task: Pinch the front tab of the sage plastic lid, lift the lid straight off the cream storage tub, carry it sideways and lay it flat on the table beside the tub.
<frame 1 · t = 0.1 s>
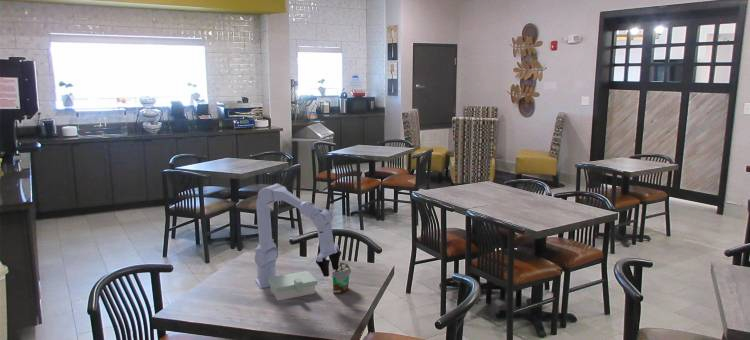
hand: (331, 272, 216), 10 cm above the table, tool pointing down, fingers open, 7 cm apart
food container: (343, 290, 225), on the table
tub: (292, 292, 222), on the table
lid: (292, 283, 221), point 4 cm above the table, touching tub
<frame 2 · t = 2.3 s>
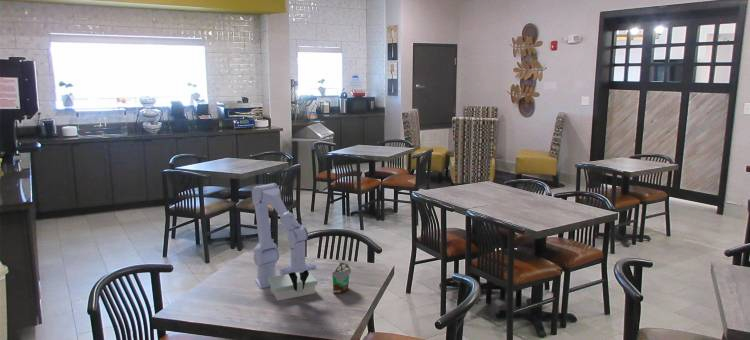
hand: (298, 289, 214), 5 cm above the table, tool pointing down, fingers closed on lid, 2 cm apart
lid: (292, 283, 221), point 4 cm above the table, touching gripper, tub
everything else where it was.
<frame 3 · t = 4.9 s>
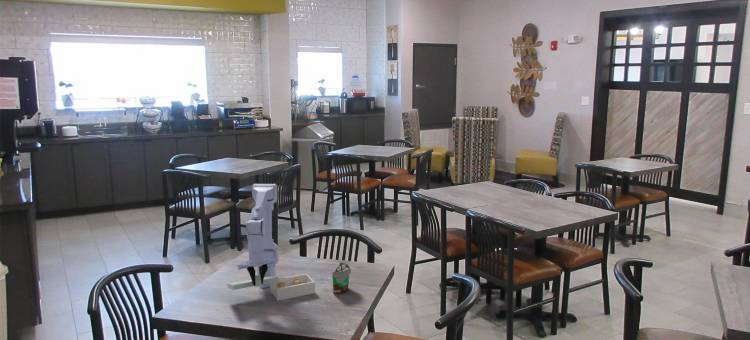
hand: (257, 283, 206), 10 cm above the table, tool pointing down, fingers closed on lid, 2 cm apart
lid: (253, 284, 213), point 7 cm above the table, tilted 18°, touching gripper
everything else where it was.
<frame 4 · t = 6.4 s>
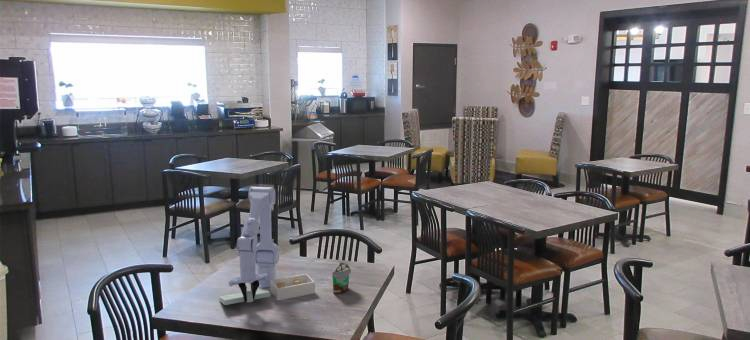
hand: (249, 300, 205), 4 cm above the table, tool pointing down, fingers closed on lid, 2 cm apart
lid: (244, 298, 212), point 1 cm above the table, tilted 15°, touching gripper
everything else where it was.
when the fingers open (2 cm above the table, at t = 7.5 s): lid stays where it is, on the table.
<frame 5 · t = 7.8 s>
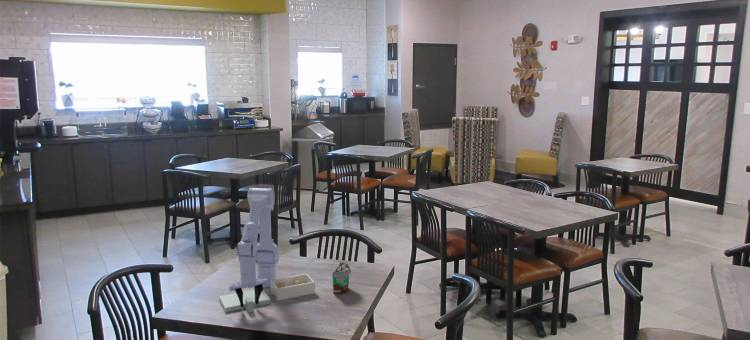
hand: (249, 304, 206), 2 cm above the table, tool pointing down, fingers open, 5 cm apart
lid: (244, 301, 213), on the table
everything else where it was.
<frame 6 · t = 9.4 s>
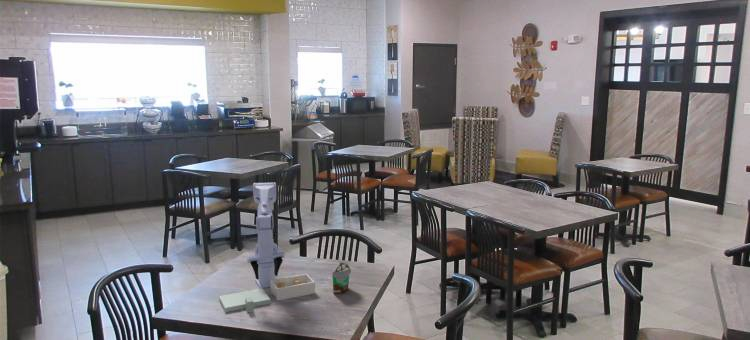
hand: (266, 276, 213), 10 cm above the table, tool pointing down, fingers open, 7 cm apart
nothing on the table moved.
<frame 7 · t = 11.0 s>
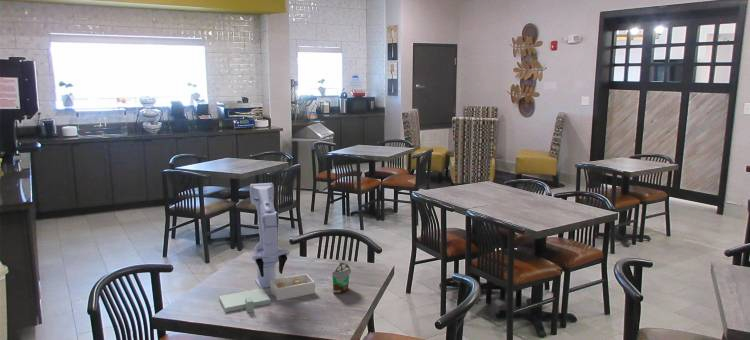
hand: (271, 274, 215), 10 cm above the table, tool pointing down, fingers open, 7 cm apart
nothing on the table moved.
at the end: lid inside the target area (0.4 cm from its centre), on the table; lid touching table; lid tilted 0° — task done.
